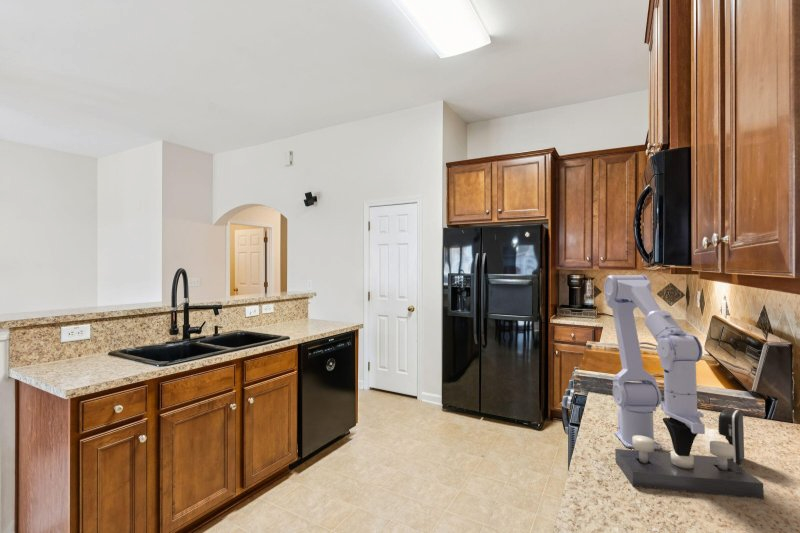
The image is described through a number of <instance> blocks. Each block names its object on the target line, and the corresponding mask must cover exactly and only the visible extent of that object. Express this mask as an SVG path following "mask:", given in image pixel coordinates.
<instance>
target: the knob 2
mask: <svg viewBox="0 0 800 533" xmlns="http://www.w3.org/2000/svg"><path fill="white" fill-rule="evenodd" d="M709 453H710V454H711V455H713V456H714V457H717V460H718V468H719V469H722V470H728V467H727V459H733V458H735V452H734V446H733V445H731V444H729V442H725V441H719V440H710V441H709Z"/></svg>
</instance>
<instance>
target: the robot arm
mask: <svg viewBox="0 0 800 533" xmlns="http://www.w3.org/2000/svg"><path fill="white" fill-rule="evenodd" d="M603 293H604V298H605V299H604V300H605V302H606V303H605V304H606V306H607V307H609V308H610V309H612V316H613V322H614V327H615V328H614V330H615V334H616V340H617V346H618V352H619V358H620V363H621V364H620V365H621V370H620V371H619V372H618V373H616V374H615V375H614V376H613V378H612V397H613V400H614V402H615V403H616V405H617V406H619V407H618V409H617V430H615V431H614V434H615V436H617V438H618V439H619V440H620V441H621V443H622V444H623V445H624V446H625V447H626V448H632V449H634V448H633V444H632V437H633V436H636V435H640V436H646V437H649V438H651V439H653V440H654V450H659V451H660V450H661V449H662V448H661V446H660V445H659V444H658V443H657V442H656V441H655V435H654V432H655V431H654V430H655V427H654V412H656V411H657V408H658V407H659V406H660V410H662V411H663V413H664V414H665V415H666V416H668V417H663V418H662V421H663V423H664V425H665V426H666V428H667V431H668V433H669V436H670V440H671V444H672V448H673V450H675V453H676V454H677V455H679V456H689V455H690V454H691V450H692V447H693V444H694V441H695V439H696V437H697V436H698V435H699V434H700V435H705V432H706V431H705V430H706V429H705V424H704V423H703V422H702V420H701V418H705V417H704V413H703V412H701V411H700V410H699V411H698V394H697V393H698V392H697V391H698V390H697V386H698V385H697V364H696V363H697V362H699V361H701V359H702V357H703V346H702V343H701V341H700V340H699V338H698V337H697V336H696V335H695V334H690V333H689V332H687V331H684V329H683V328H682V327H681V326H680V325H679V323H678V322H677V320H676V319H675V318H674V317H673V315H672V314H671V313H670V312H669V311H666V310H662V309H661V307H660V306H659V304H658V302H657V301H656V299H655V298H654V296H653V294H652V282H651V281H650V278H649V277H648V276H647V275H646V274H635V275H634V274H632V275H627V274H625V275H622V274H620V275H619V274H617V275H615V274H614V275H613V274H609V275H607V277H606V278H605V281H604V284H603ZM636 308H638V309H639V310H640V311H641V313H642V314H643V315H644V316H645V319H644V324H645V326H646V328H647V329H648V331H649V332H650V333H651V336H653V339H654V340H655V342H656V343H657V345H656V350H657V351H656V352H657V354H658V357H659V361H660V362H659V363H660V366H661V367H660V368H661V369H663V389H664V390H663V391H664V392H663V394H664V399H663V401H662V392H661V390H660V388H659V386H658V384H657V380H656V377H655V376H654V375H652V374H651V373H649V372H648V371H647V370H645V369H644V368H645V367H644V363H643V358H642V353H641V352H642V351H641V347H640V346H641V345H640V340H639V336H638V332H637V331H638V329H637V325H636V324H637V323H636V320H635V315H634V314H635V313H634V311H635V309H636Z"/></svg>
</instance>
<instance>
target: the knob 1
mask: <svg viewBox="0 0 800 533" xmlns="http://www.w3.org/2000/svg"><path fill="white" fill-rule="evenodd" d="M654 442H655V439H654V440H653V439H651V438H649V437H646V436H640V435H636V436H633V437H632V444H633V448H632V449H634V450H636V451H639V461H640V462H641V463H648V452H655V449H654Z"/></svg>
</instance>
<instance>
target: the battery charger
mask: <svg viewBox="0 0 800 533" xmlns="http://www.w3.org/2000/svg"><path fill="white" fill-rule="evenodd" d="M743 414H744V413H743V411H740V410H738V409H732V408H725V409H723V410H722V411H721V412H720V414H719V415H718V426H717V427H718V434H719V435H721V436H723V437H725V440H726V441H727V443H728V444H731V445H733V446H734V452H735V458H733V459H731V460H732V461H734V462H735V463H736V464H738V465H739V466H741V464H742V463H743V460H744V458H745V439H744V438H745V437H744V435H745V434H744V433H745V431H744V429H745V428H744V415H743Z"/></svg>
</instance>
